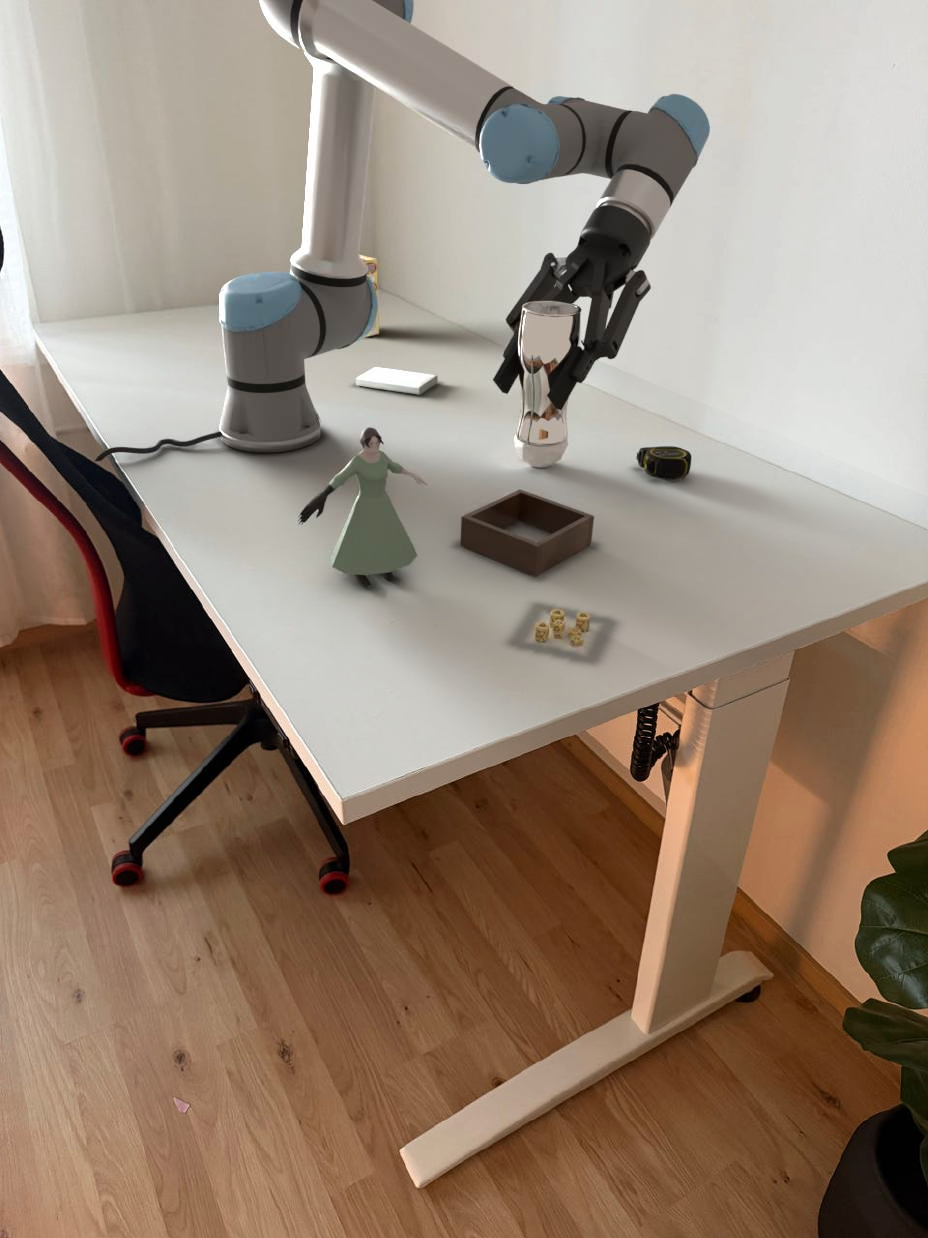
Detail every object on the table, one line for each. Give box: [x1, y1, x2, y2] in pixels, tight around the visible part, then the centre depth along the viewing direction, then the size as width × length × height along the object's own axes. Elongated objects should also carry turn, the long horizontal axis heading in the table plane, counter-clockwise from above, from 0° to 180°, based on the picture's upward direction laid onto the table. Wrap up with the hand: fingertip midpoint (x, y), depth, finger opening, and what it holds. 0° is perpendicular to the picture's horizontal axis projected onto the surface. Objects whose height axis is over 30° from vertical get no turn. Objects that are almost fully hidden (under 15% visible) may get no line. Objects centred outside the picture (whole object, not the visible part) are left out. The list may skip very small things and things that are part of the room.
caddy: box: [459, 488, 595, 578], centre depth 116 cm, size 12×12×4 cm
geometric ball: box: [514, 434, 569, 468], centre depth 138 cm, size 8×8×8 cm
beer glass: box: [515, 301, 582, 447], centre depth 108 cm, size 7×7×15 cm
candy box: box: [359, 254, 380, 338], centre depth 197 cm, size 9×4×15 cm, turn 44°
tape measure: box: [636, 445, 692, 481], centre depth 137 cm, size 7×7×4 cm
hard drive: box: [355, 366, 439, 396], centre depth 171 cm, size 2×8×12 cm
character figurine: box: [297, 426, 428, 587], centre depth 104 cm, size 16×8×18 cm, turn 121°
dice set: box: [534, 608, 591, 648], centre depth 100 cm, size 5×5×2 cm
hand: (526, 394), depth 106 cm, fingers closed on beer glass, 7 cm apart
